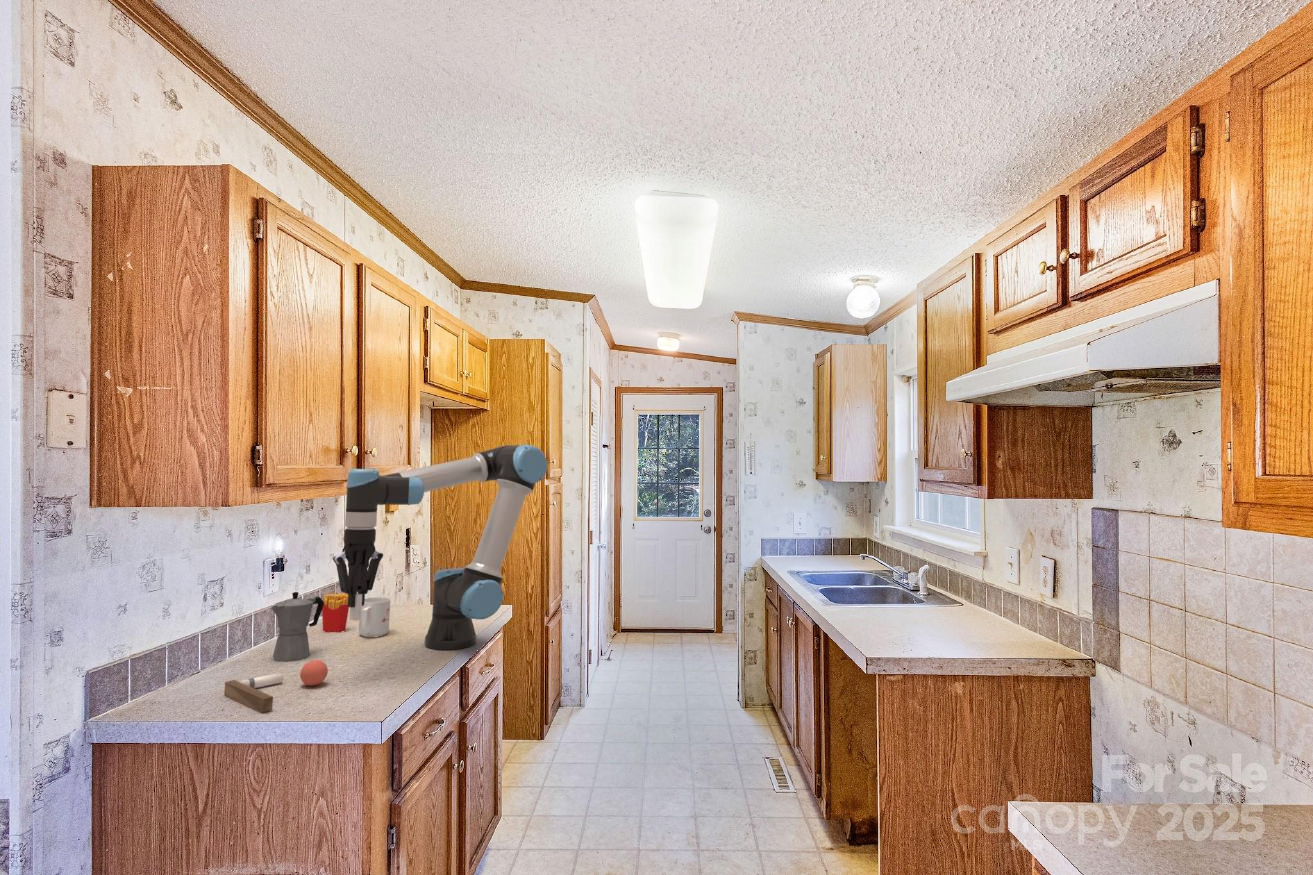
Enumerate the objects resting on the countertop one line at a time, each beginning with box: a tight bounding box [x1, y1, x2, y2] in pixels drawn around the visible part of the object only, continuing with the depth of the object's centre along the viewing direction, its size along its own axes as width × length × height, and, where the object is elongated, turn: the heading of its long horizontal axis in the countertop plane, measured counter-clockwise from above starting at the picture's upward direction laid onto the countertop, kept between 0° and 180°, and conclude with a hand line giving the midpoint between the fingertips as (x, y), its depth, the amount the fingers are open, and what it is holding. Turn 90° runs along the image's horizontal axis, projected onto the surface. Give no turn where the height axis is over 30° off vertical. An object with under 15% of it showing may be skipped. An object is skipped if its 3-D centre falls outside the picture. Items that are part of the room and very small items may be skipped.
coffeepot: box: [270, 591, 324, 662], centre depth 183 cm, size 15×9×18 cm, turn 151°
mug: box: [358, 596, 391, 638], centre depth 206 cm, size 12×9×11 cm
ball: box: [299, 659, 329, 687], centre depth 159 cm, size 6×6×6 cm
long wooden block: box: [223, 679, 274, 714], centre depth 146 cm, size 2×18×3 cm, turn 56°
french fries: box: [321, 592, 350, 633], centre depth 211 cm, size 8×4×12 cm, turn 93°
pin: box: [240, 672, 284, 689], centre depth 157 cm, size 2×2×8 cm
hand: (355, 619), depth 168 cm, fingers closed
